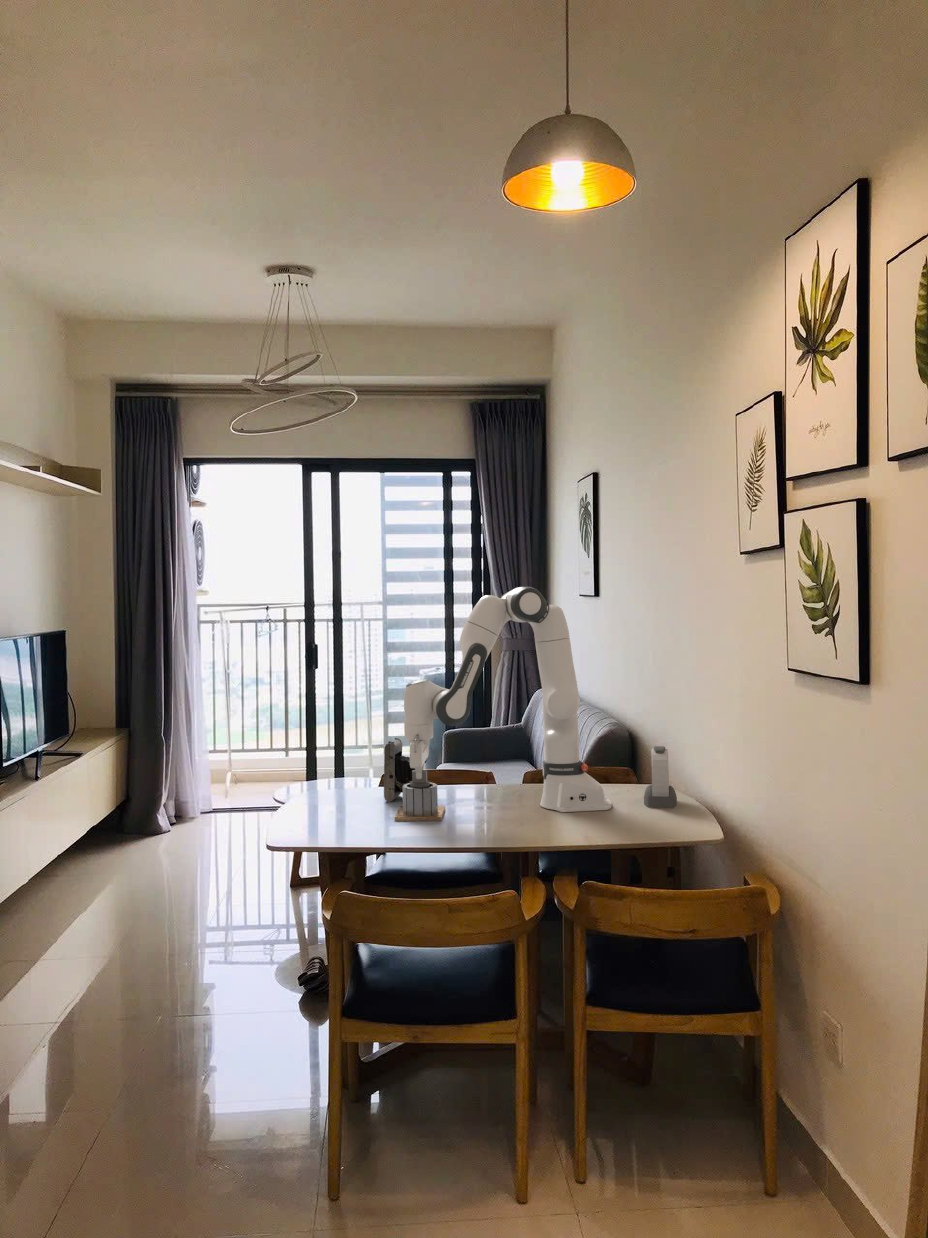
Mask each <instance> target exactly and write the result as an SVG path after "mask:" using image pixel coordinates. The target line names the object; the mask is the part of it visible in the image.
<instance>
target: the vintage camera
mask: <svg viewBox="0 0 928 1238" xmlns="http://www.w3.org/2000/svg"><path fill="white" fill-rule="evenodd" d="M428 759H429V757H427V759H426V761H425V763H424V764H426V763H427V761H428ZM383 761H384V763H383V765H384V766H383V798H384V800H385V801H386V802H387V803H390V802H393V801H394V800H395V799H397V798H398V797H399V796H400V795H401V794H403V787H402V786H403V785H404V784H407V783H410V782H411V781H412V771H413V770H415V768H411V767H410V756H405V755H403V742H402V740H401V739H400V738H397V737H395V738H394V739H393V740H389V741H388V742H387V743H386V744H385V746H384V757H383Z"/></svg>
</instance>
